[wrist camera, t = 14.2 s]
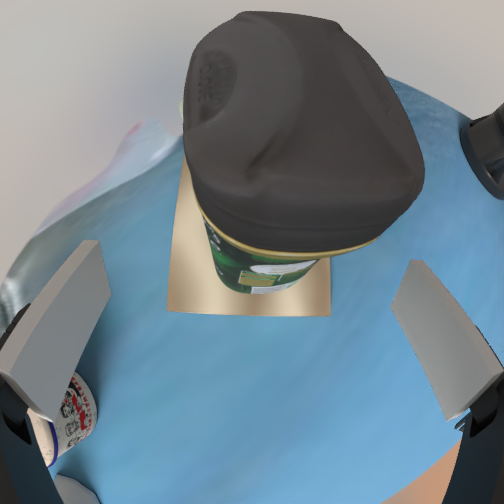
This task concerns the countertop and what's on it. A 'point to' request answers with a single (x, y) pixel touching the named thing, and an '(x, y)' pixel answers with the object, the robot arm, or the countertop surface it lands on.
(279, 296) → the birch board
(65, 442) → the teacup with lid
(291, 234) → the coffee jar
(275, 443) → the countertop surface
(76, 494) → the flask
